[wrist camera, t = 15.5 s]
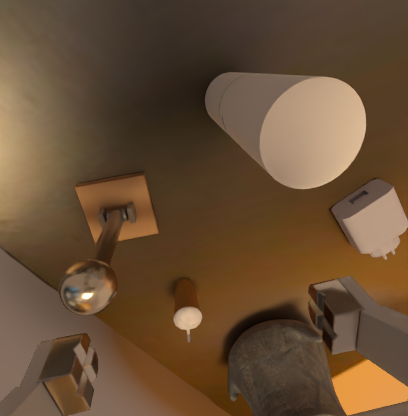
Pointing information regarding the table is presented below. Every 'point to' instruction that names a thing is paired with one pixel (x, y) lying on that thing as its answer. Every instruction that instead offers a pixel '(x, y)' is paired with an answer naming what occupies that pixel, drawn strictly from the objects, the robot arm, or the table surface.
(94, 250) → the ball topped rod
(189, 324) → the milkshake
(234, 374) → the vessel
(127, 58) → the table surface
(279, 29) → the table surface
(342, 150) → the cylindrical container
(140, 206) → the holder base
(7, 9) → the table surface
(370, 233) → the charger
